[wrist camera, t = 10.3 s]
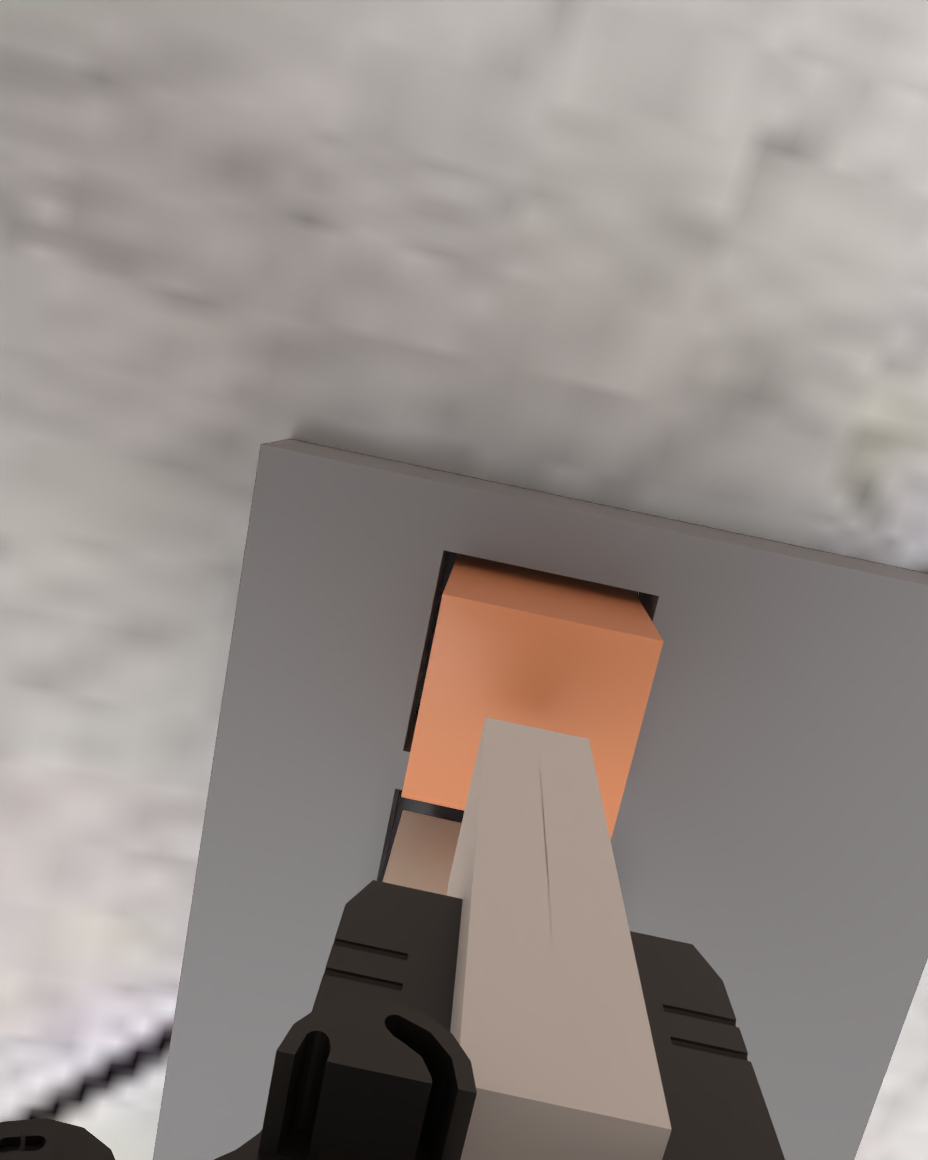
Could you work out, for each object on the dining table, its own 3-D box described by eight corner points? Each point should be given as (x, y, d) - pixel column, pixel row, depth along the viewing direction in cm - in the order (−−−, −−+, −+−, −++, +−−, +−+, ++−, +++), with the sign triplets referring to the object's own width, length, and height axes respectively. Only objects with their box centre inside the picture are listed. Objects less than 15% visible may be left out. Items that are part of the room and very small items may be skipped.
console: (290, 438, 22) (241, 448, 18) (994, 587, 22) (1094, 628, 18) (138, 1393, 29) (80, 1544, 25) (671, 1517, 29) (694, 1690, 25)
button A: (458, 552, 21) (442, 593, 17) (633, 589, 21) (663, 641, 17) (424, 716, 22) (401, 796, 18) (592, 753, 22) (610, 842, 18)
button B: (402, 810, 21) (370, 924, 16) (583, 849, 21) (601, 975, 16) (370, 968, 22) (331, 1117, 17) (543, 1006, 22) (548, 1167, 17)
